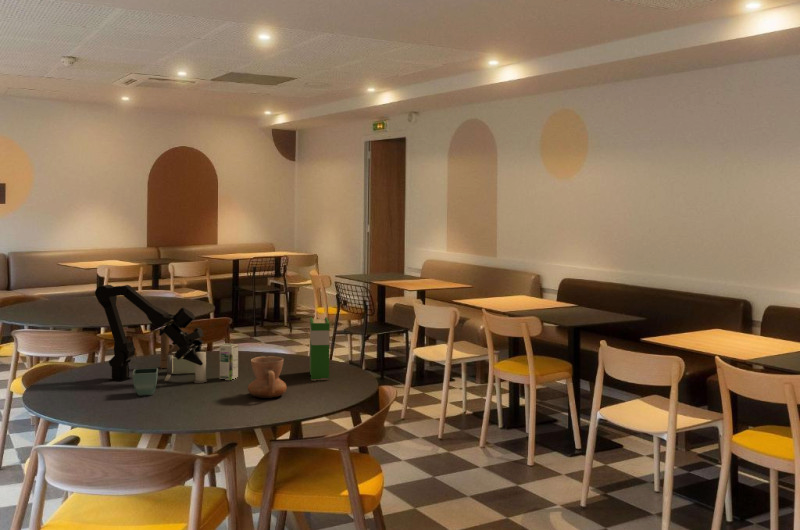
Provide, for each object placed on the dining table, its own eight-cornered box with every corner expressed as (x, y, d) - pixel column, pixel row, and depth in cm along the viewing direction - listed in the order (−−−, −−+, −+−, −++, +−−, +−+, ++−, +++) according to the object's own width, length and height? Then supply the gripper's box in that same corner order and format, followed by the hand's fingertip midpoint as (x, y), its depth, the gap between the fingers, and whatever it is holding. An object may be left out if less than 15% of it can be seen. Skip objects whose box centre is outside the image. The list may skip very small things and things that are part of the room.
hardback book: (309, 371, 326) (310, 317, 325) (326, 371, 328) (327, 317, 326) (311, 381, 309) (311, 323, 307) (329, 380, 310) (329, 323, 308)
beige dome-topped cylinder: (201, 383, 301) (201, 354, 300) (191, 382, 303) (191, 353, 302) (209, 381, 306) (209, 352, 305) (199, 380, 308) (199, 351, 307)
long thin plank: (168, 371, 323) (168, 353, 322) (173, 371, 323) (173, 353, 322) (163, 381, 305) (163, 361, 304) (168, 380, 305) (168, 361, 305)
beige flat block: (172, 373, 317) (172, 357, 317) (173, 372, 320) (173, 356, 319) (199, 372, 319) (199, 357, 319) (200, 371, 322) (200, 356, 321)
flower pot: (132, 397, 278) (132, 373, 277) (134, 391, 286) (133, 368, 286) (157, 396, 280) (157, 372, 279) (158, 390, 289) (158, 367, 288)
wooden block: (186, 367, 331) (185, 327, 330) (160, 369, 327) (160, 328, 326) (185, 365, 335) (185, 326, 333) (160, 367, 331) (159, 327, 330)
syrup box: (219, 379, 309) (219, 345, 308) (226, 376, 314) (226, 342, 313) (231, 380, 307) (231, 346, 306) (238, 377, 313) (238, 343, 311)
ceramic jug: (245, 391, 289) (245, 355, 288) (283, 389, 293) (283, 353, 292) (250, 403, 272) (250, 364, 271) (290, 401, 276) (290, 363, 275)
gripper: (182, 325, 294) (210, 354, 294) (198, 319, 312) (224, 346, 312) (163, 345, 295) (190, 373, 295) (180, 337, 313) (206, 364, 313)
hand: (203, 363), depth 304 cm, fingers open, 4 cm apart
